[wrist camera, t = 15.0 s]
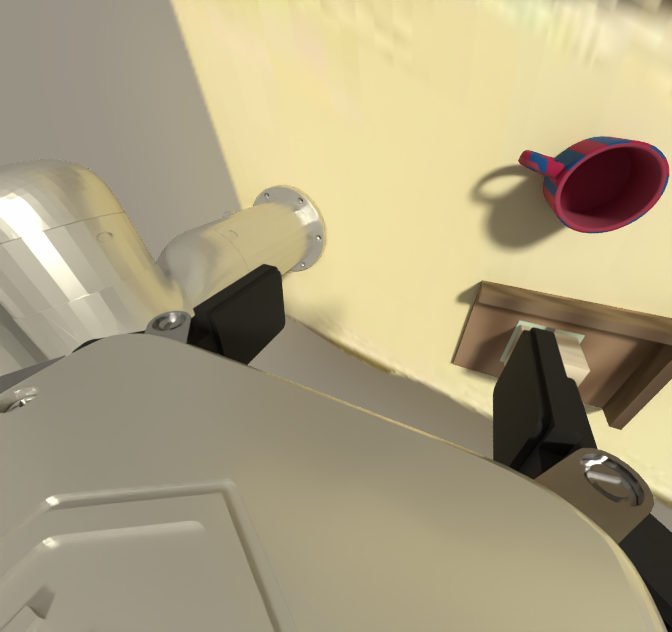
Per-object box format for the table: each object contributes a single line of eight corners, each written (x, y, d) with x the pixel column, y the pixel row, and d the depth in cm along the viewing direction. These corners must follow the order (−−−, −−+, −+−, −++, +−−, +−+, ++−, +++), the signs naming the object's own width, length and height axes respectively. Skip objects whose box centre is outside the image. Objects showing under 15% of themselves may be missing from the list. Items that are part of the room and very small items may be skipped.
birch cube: (521, 324, 37) (525, 354, 32) (577, 337, 35) (590, 371, 30) (504, 359, 40) (505, 390, 36) (554, 373, 38) (562, 408, 34)
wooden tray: (453, 361, 45) (451, 377, 42) (482, 280, 37) (481, 293, 34) (611, 407, 38) (621, 429, 35) (688, 321, 30) (708, 341, 27)
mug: (585, 225, 30) (605, 248, 24) (498, 177, 30) (500, 188, 25) (655, 159, 25) (698, 169, 20) (552, 104, 26) (568, 100, 21)
